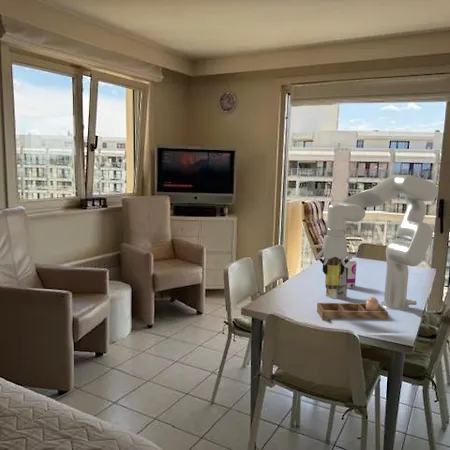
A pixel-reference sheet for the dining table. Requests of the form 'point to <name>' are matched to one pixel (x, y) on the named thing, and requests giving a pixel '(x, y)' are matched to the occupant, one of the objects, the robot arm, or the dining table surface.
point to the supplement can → (351, 273)
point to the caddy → (349, 311)
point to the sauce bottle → (333, 273)
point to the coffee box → (342, 290)
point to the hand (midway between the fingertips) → (333, 273)
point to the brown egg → (372, 304)
